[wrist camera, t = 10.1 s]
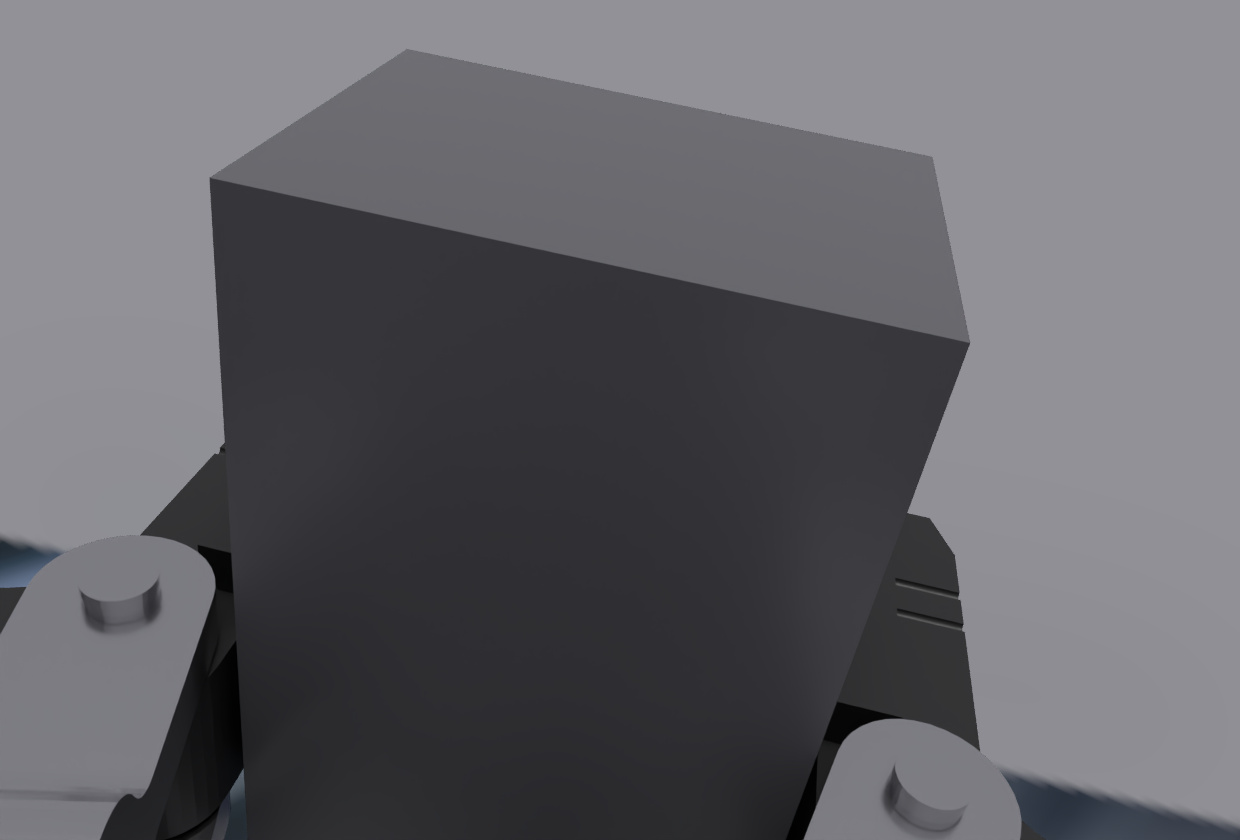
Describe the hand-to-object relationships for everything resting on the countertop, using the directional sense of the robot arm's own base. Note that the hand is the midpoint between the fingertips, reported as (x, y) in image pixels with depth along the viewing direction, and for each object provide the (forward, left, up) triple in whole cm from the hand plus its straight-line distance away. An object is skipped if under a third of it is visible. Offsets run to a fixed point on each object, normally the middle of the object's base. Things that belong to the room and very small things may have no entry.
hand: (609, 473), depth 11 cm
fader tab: (0, -3, -7) cm, 7 cm away
